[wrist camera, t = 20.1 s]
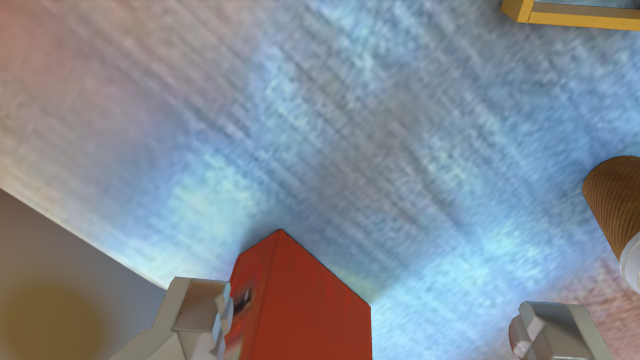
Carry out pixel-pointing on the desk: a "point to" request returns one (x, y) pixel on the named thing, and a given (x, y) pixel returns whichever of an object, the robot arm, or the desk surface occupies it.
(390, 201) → the desk surface
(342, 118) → the desk surface
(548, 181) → the desk surface
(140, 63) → the desk surface
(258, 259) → the file binder
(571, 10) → the frame
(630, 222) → the disposable coffee cup
